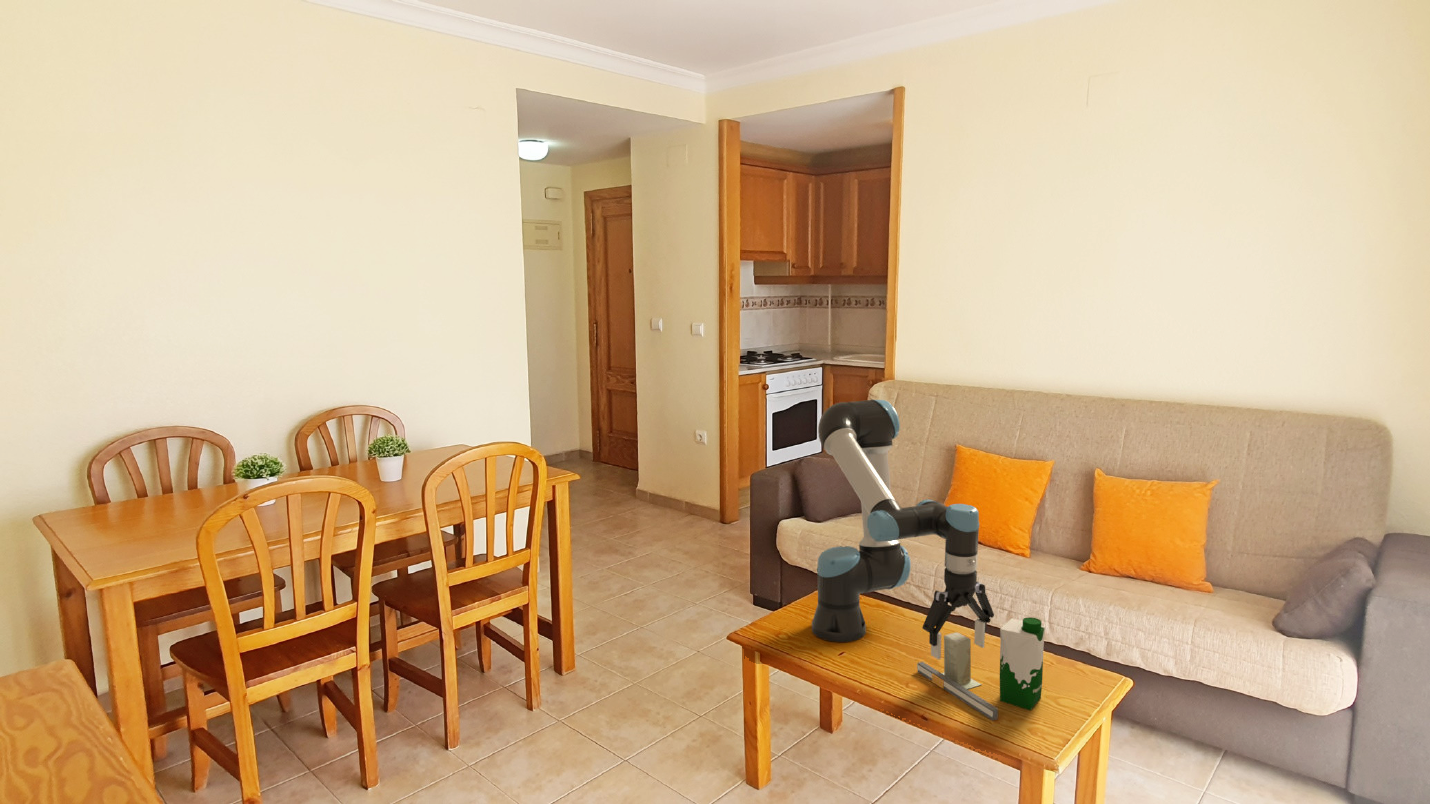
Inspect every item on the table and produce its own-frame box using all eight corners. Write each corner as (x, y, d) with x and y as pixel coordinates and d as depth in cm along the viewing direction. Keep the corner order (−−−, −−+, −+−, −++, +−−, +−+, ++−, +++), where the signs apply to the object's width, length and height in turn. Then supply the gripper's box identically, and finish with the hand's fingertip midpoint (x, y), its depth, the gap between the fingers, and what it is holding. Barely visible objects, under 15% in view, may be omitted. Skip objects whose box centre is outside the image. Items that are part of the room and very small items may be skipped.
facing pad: (933, 676, 204) (933, 675, 204) (955, 669, 206) (955, 669, 206) (958, 691, 195) (958, 691, 195) (981, 685, 198) (981, 684, 198)
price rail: (916, 672, 206) (916, 663, 205) (922, 670, 206) (922, 661, 206) (991, 721, 182) (991, 710, 182) (997, 718, 183) (997, 708, 183)
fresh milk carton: (1033, 713, 185) (1036, 629, 182) (994, 701, 191) (996, 620, 188) (1046, 698, 192) (1049, 617, 189) (1007, 686, 197) (1009, 608, 194)
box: (971, 682, 200) (972, 639, 198) (957, 686, 198) (958, 642, 196) (956, 673, 204) (956, 631, 203) (942, 677, 202) (943, 634, 201)
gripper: (929, 583, 189) (927, 668, 192) (1011, 565, 199) (1007, 646, 202) (909, 572, 195) (907, 655, 199) (989, 555, 206) (985, 634, 209)
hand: (957, 651), depth 201 cm, fingers open, 13 cm apart
